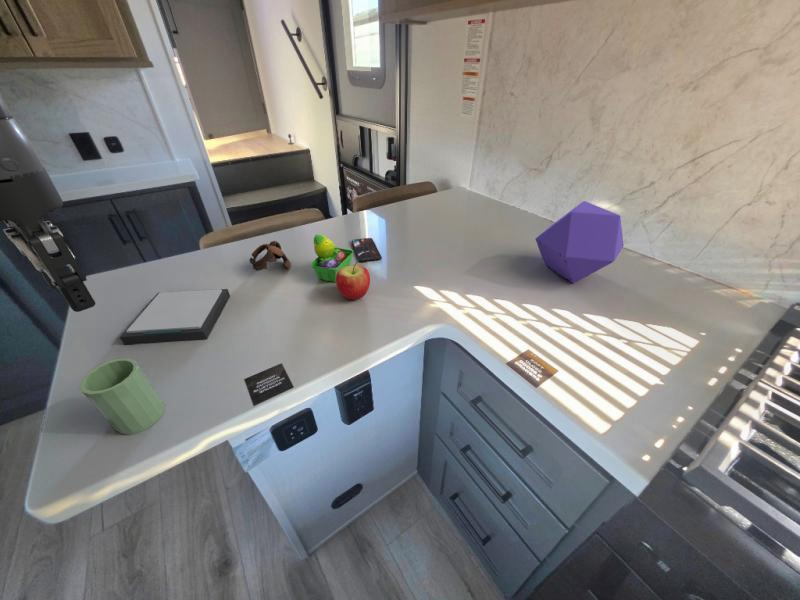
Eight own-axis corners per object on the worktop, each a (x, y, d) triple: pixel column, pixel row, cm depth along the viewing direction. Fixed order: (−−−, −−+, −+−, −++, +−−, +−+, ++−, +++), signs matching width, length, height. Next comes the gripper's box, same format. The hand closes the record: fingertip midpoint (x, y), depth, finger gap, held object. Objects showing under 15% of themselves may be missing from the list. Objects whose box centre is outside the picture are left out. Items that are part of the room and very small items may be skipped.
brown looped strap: (291, 276, 88) (270, 257, 82) (264, 288, 91) (242, 270, 85) (295, 248, 96) (277, 228, 90) (271, 259, 98) (250, 241, 92)
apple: (376, 299, 79) (375, 264, 73) (344, 309, 76) (340, 273, 70) (363, 283, 85) (361, 250, 79) (333, 292, 82) (328, 257, 76)
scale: (207, 339, 66) (202, 329, 65) (124, 345, 65) (117, 334, 63) (230, 296, 79) (227, 286, 78) (161, 299, 78) (157, 290, 76)
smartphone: (359, 260, 94) (351, 239, 105) (359, 262, 94) (351, 241, 106) (382, 257, 96) (372, 237, 107) (382, 259, 96) (372, 239, 108)
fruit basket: (337, 286, 84) (332, 247, 77) (308, 279, 86) (301, 242, 80) (355, 266, 93) (352, 230, 86) (328, 261, 95) (324, 225, 88)
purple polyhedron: (606, 300, 87) (661, 235, 79) (564, 287, 78) (620, 212, 69) (550, 262, 105) (590, 205, 96) (510, 247, 95) (550, 183, 86)
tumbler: (152, 432, 49) (120, 391, 43) (106, 437, 49) (67, 395, 43) (171, 397, 55) (145, 356, 49) (130, 401, 54) (98, 360, 48)
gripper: (-76, 161, 34) (18, 290, 43) (-53, 186, 27) (52, 332, 36) (23, 153, 39) (88, 269, 48) (62, 173, 32) (129, 303, 41)
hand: (73, 296), depth 42 cm, fingers open, 8 cm apart
